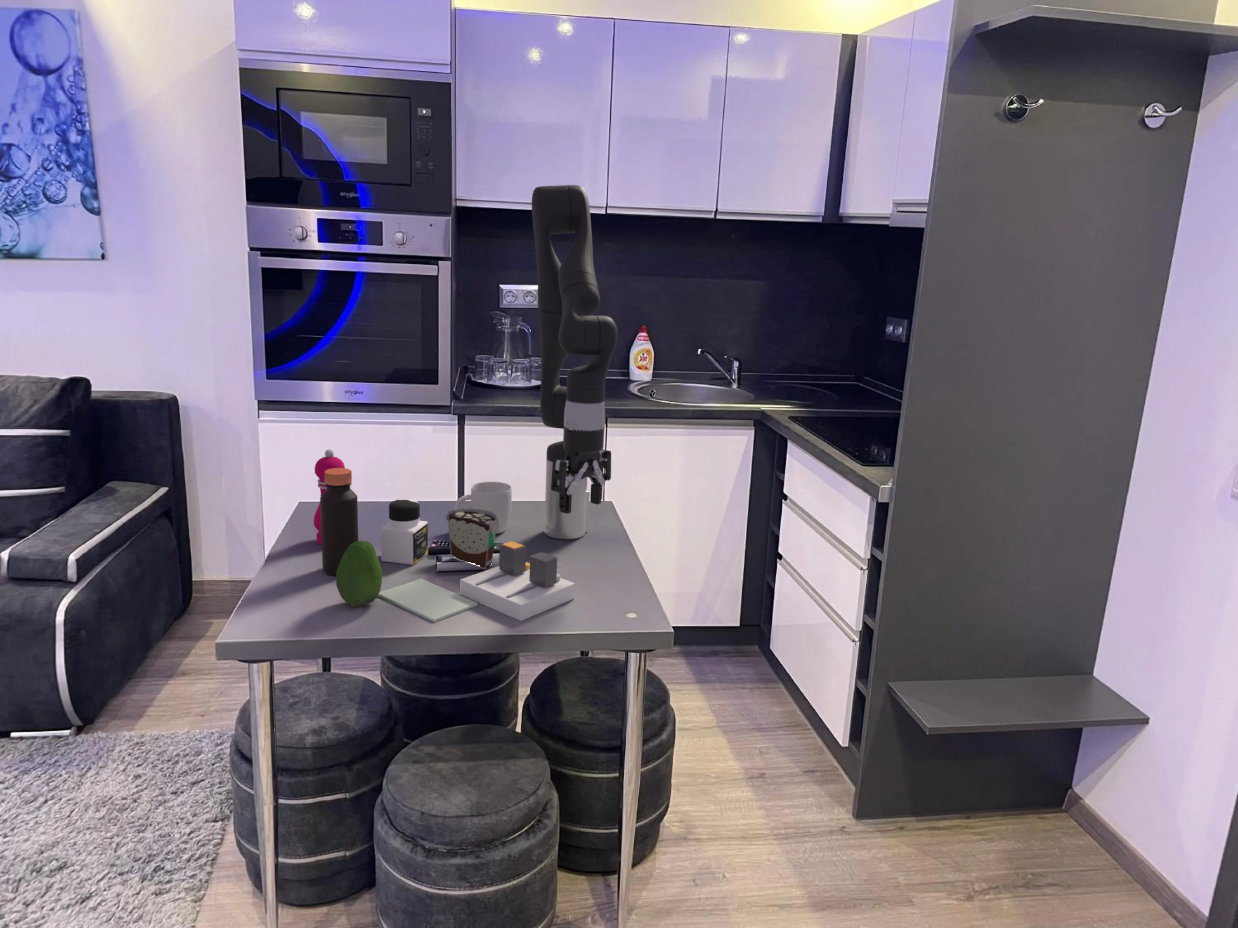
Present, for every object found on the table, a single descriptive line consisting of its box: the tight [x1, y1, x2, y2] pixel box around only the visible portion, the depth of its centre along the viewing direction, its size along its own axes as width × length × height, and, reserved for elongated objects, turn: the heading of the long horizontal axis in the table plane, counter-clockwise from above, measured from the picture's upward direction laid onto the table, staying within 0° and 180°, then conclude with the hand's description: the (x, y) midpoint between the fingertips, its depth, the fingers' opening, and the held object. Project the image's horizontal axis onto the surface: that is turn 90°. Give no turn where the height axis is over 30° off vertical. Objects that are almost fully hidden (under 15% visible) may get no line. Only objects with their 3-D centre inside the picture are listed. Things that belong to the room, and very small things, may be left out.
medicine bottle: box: [380, 498, 429, 566], centre depth 181 cm, size 7×7×12 cm
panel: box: [459, 561, 576, 622], centre depth 166 cm, size 14×16×4 cm
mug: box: [453, 481, 513, 535], centre depth 200 cm, size 13×9×10 cm
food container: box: [445, 507, 499, 570], centre depth 182 cm, size 12×6×10 cm, turn 58°
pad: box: [377, 578, 479, 623], centre depth 163 cm, size 10×16×1 cm, turn 51°
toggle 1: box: [498, 540, 527, 575], centre depth 169 cm, size 3×4×5 cm
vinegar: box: [319, 467, 359, 577], centre depth 172 cm, size 7×7×20 cm
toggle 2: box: [529, 551, 558, 588], centre depth 165 cm, size 3×4×5 cm
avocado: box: [335, 539, 383, 608], centre depth 158 cm, size 8×8×12 cm
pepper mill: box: [313, 449, 346, 546], centre depth 187 cm, size 7×7×20 cm
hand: (580, 508), depth 170 cm, fingers open, 8 cm apart
